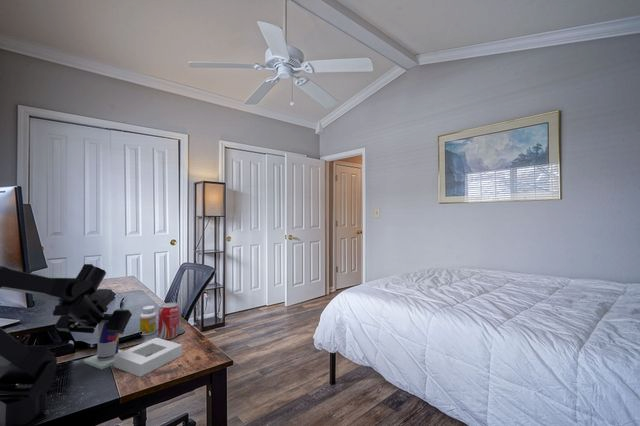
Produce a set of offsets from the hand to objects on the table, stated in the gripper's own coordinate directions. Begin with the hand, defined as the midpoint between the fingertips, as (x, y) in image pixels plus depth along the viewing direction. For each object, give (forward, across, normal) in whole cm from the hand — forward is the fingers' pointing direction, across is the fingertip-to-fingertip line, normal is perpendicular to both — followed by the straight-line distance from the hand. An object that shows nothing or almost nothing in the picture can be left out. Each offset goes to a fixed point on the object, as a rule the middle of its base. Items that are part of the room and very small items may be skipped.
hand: (108, 332), depth 92 cm
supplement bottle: (+21, 0, -9) cm, 23 cm away
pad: (+6, 0, +6) cm, 9 cm away
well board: (+6, -13, +6) cm, 16 cm away
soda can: (+19, -10, -6) cm, 22 cm away
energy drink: (+6, 0, +6) cm, 8 cm away
